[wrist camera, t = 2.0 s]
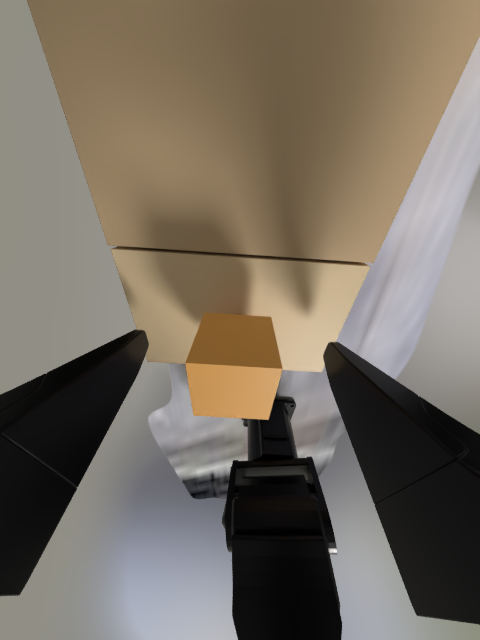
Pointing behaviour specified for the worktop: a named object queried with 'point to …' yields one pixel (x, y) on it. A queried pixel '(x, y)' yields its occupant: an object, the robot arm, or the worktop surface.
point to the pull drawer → (236, 319)
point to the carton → (254, 115)
